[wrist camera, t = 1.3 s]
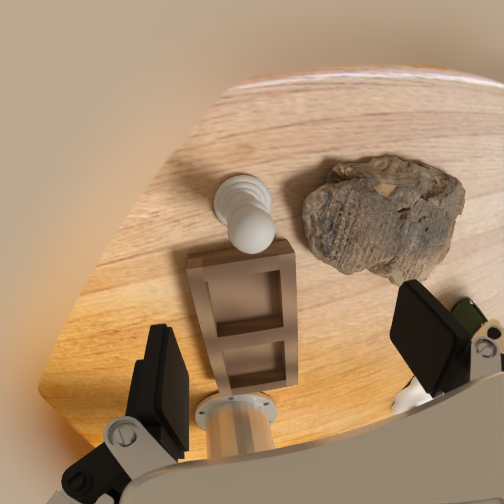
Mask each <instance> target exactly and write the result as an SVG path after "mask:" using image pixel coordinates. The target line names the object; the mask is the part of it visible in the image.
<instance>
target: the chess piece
mask: <svg viewBox="0 0 504 504" xmlns="http://www.w3.org/2000/svg"><path fill="white" fill-rule="evenodd" d="M271 206H272V198H271V194H270V191H269V189H268V188H267V186H266V185H265V184H264V183H263V182H262V181H261V180H259V179H258V178H256V177H253V176H249V175H238V176H234V177H231V178H229V179H228V180H226V181H225V182H224V183H222V184H221V186H220V187H219V188H218V190H217V192H216V194H215V197H214V210H215V213H216V216H217V217H218V219H219V220H220V222H221V223H222V224H224V225H225V226H226V227H228V236H229V239H230V241H231V243H232V244H233V245H234V246H235V247H236V248H237V249H238V250H240V251H242V252H244V253H248V254H256V253H259V252H262V251H263V250H265V249H266V248H267V247H268V246H269V245H270V244H271V242H272V241H273V238H274V235H275V224H274V221H273V219H272V218H271V216H270V214H269V213H270V210H271Z"/></svg>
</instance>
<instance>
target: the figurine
mask: <svg viewBox="0 0 504 504" xmlns="http://www.w3.org/2000/svg"><path fill="white" fill-rule="evenodd" d="M443 394H444V393H443ZM443 394H442V395H443ZM440 396H441V395H440ZM438 397H439V396H438ZM436 398H437V397H436ZM434 399H435V398H434ZM430 400H433V399H432V397H431V395H430V394H427V393H426V392H425V391H424V389H423V387H422V386H421V384H420V383H419V381H418V380H417V378H416V377H415V376H414V377H413V379H412V381H411V383H410V385H409V386H408V387H406V388H404V389H403V390H401V391H400V392H399V393H398V395H397V396H396V397H395V399H394V405H393V406H392V407H391V413H392V414H394V415H397V414H400V413H402V412H405V411H407V410H410V409H412V408H414V407H417V406H419V405H421V404H424V403H426V402H428V401H430Z"/></svg>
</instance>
